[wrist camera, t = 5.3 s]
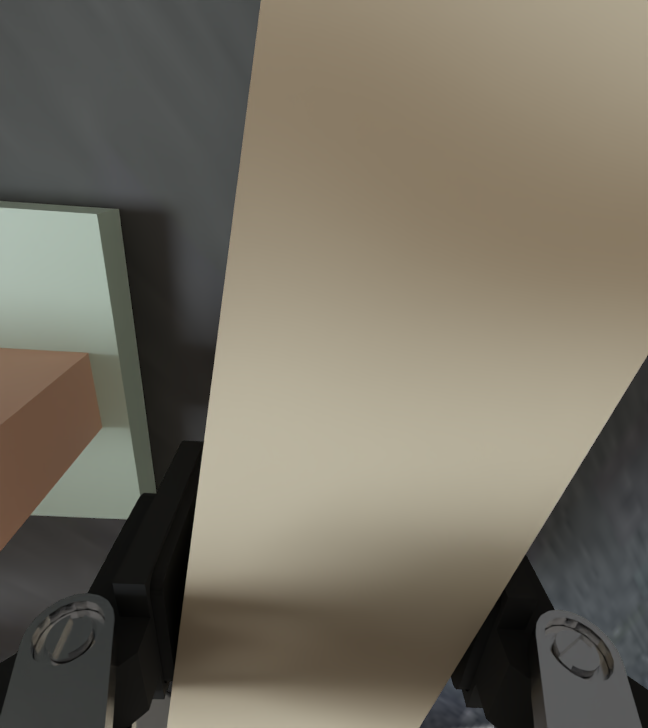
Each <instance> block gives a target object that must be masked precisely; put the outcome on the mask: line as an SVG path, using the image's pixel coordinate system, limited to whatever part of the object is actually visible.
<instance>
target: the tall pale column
mask: <svg viewBox="0 0 648 728" xmlns="http://www.w3.org/2000/svg"><path fill="white" fill-rule="evenodd" d="M170 700H171V694H170V693H169V692H166V696H165V699H153V700H152V703H151V706H150V709H149V711H148V712H146V713H145V714H144V715H143V716H142V717H140V718H139V719H138V720H137V721H136V728H167V723H168V715H169V708H170Z"/></svg>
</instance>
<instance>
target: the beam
mask: <svg viewBox="0 0 648 728" xmlns="http://www.w3.org/2000/svg"><path fill="white" fill-rule="evenodd" d="M647 355H648V0H261V5H260V13H259V20H258V28H257V36H256V43H255V51H254V59H253V67H252V74H251V82H250V90H249V98H248V105H247V113H246V121H245V128H244V136H243V144H242V152H241V159H240V167H239V175H238V183H237V190H236V198H235V206H234V213H233V221H232V229H231V237H230V244H229V252H228V260H227V267H226V275H225V283H224V291H223V298H222V306H221V314H220V322H219V329H218V337H217V345H216V352H215V360H214V368H213V376H212V383H211V391H210V399H209V407H208V414H207V422H206V430H205V437H204V445H203V453H202V461H201V468H200V476H199V484H198V491H197V499H196V507H195V515H194V522H193V530H192V538H191V546H190V553H189V561H188V569H187V576H186V584H185V592H184V600H183V607H182V615H181V623H180V631H179V638H178V646H177V654H176V661H175V669H174V677H173V685H172V692H171V700H170V708H169V715H168V723H167V728H419V727H420V725H421V724H422V722H423V721H424V719H425V717H426V716H427V714H428V712H429V711H430V709H431V708H432V706H433V704H434V703H435V701H436V699H437V698H438V696H439V694H440V693H441V691H442V690H443V688H444V686H445V685H446V683H447V681H448V680H449V678H450V677H451V675H452V673H453V672H454V670H455V668H456V667H457V665H458V663H459V662H460V660H461V659H462V657H463V655H464V654H465V652H466V650H467V649H468V647H469V646H470V644H471V642H472V641H473V639H474V637H475V636H476V634H477V633H478V631H479V629H480V628H481V626H482V624H483V623H484V621H485V619H486V618H487V616H488V615H489V613H490V611H491V610H492V608H493V606H494V605H495V603H496V602H497V600H498V598H499V597H500V595H501V593H502V592H503V590H504V588H505V587H506V585H507V584H508V582H509V580H510V579H511V577H512V575H513V574H514V572H515V571H516V569H517V567H518V566H519V564H520V562H521V561H522V559H523V558H524V556H525V554H526V553H527V551H528V549H529V548H530V546H531V544H532V543H533V541H534V540H535V538H536V536H537V535H538V533H539V531H540V530H541V528H542V527H543V525H544V523H545V522H546V520H547V518H548V517H549V515H550V513H551V512H552V510H553V509H554V507H555V505H556V504H557V502H558V500H559V499H560V497H561V496H562V494H563V492H564V491H565V489H566V487H567V486H568V484H569V483H570V481H571V479H572V478H573V476H574V474H575V473H576V471H577V469H578V468H579V466H580V465H581V463H582V461H583V460H584V458H585V456H586V455H587V453H588V452H589V450H590V448H591V447H592V445H593V443H594V442H595V440H596V439H597V437H598V435H599V434H600V432H601V430H602V429H603V427H604V425H605V424H606V422H607V421H608V419H609V417H610V416H611V414H612V412H613V411H614V409H615V408H616V406H617V404H618V403H619V401H620V399H621V398H622V396H623V394H624V393H625V391H626V390H627V388H628V386H629V385H630V383H631V381H632V380H633V378H634V377H635V375H636V373H637V372H638V370H639V368H640V367H641V365H642V364H643V362H644V360H645V359H646V357H647Z"/></svg>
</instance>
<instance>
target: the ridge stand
mask: <svg viewBox="0 0 648 728" xmlns="http://www.w3.org/2000/svg"><path fill="white" fill-rule="evenodd" d="M143 493H156V486H155V478H154V471H153V463H152V456H151V448H150V441H149V433H148V425H147V418H146V410H145V403H144V395H143V388H142V380H141V372H140V365H139V357H138V350H137V342H136V335H135V327H134V320H133V312H132V304H131V297H130V289H129V282H128V274H127V267H126V259H125V251H124V244H123V236H122V229H121V221H120V214H119V209H111V208H97V207H82V206H67V205H53V204H38V203H24V202H9V201H0V551H1V550H2V549H3V548H4V546H5V545H6V544H7V543H8V542H9V540H10V539H11V538H12V537H13V535H14V534H15V533H16V532H17V531H18V529H19V528H20V527H21V526H22V525H23V523H24V522H25V521H26V520H27V518H28V517H29V516H30V515H38V516H62V517H85V518H108V519H128V517H129V515H130V513H131V511H132V509H133V508H134V506H135V504H136V502H137V500H138V499H139V497H140V496H141V495H142V494H143Z"/></svg>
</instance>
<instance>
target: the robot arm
mask: <svg viewBox="0 0 648 728" xmlns="http://www.w3.org/2000/svg"><path fill="white" fill-rule="evenodd" d="M203 445H204V442H198V441H182V443H181V444H180V446H179V448H178V450H177V452H176V454H175V456H174V458H173V460H172V463H171V465H170V467H169V469H168V471H167V473H166V475H165V477H164V479H163V481H162V483H161V485H160V487H159V489H158V491H157V493H143V494H142V495H141V496H140V497H139V499H138V500H137V502H136V504H135V506H134V508H133V509H132V511H131V513H130V515H129V517H128V519H127V521H126V523H125V524H124V526H123V528H122V530H121V532H120V534H119V536H118V538H117V539H116V541H115V543H114V545H113V547H112V549H111V551H110V552H109V554H108V556H107V558H106V560H105V562H104V564H103V566H102V567H101V569H100V571H99V573H98V575H97V577H96V579H95V580H94V582H93V584H92V586H91V588H90V590H89V592H88V593H86V594H77V595H73V596H70V597H67V598H65V599H62V600H60V601H58V602H56V603H55V604H53V605H51V606H50V607H48V608H47V609H46V610H44V611H43V612H42V613H41V614H40V615H39V616H37V617H36V618H35V619H34V621H33V622H32V623H31V625H30V626H29V627H28V629H27V630H26V632H25V634H24V636H23V638H22V641H21V643H20V646H19V650H18V653H16V654H15V655H13V656H11V657H10V658H8V659H7V660H5V661H3V662H2V663H0V728H136V721H137V720H138V719H139V718H140V717H142V716H143V715H144V714H145V713H146V712H148V711H149V709H150V706H151V703H152V700H153V699H165V696H166V692H167V689H168V685H169V682H170V681H173V677H174V669H175V661H176V654H177V646H178V638H179V631H180V623H181V615H182V607H183V600H184V592H185V584H186V576H187V569H188V561H189V553H190V546H191V538H192V530H193V522H194V515H195V507H196V499H197V491H198V484H199V476H200V468H201V461H202V453H203ZM451 679H452V682H453V685H454V687H455V688H456V689H462V692H463V696H464V699H465V703H466V707H472V708H483V709H484V713H485V716H486V719H487V720H488V721H489V722H491V723H492V724H493V725H494V728H648V690H647V689H646V688H644V687H643V686H641V685H640V684H638V683H637V682H636V681H634V680H633V679H631V678H630V677H628V676H627V674H626V671H625V668H624V664H623V661H622V659H621V657H620V655H619V652H618V650H617V648H616V647H615V646H614V644H613V643H612V642H611V640H610V639H609V638H608V636H606V635H605V634H604V633H603V632H602V631H601V630H600V629H599V628H598V627H597V626H596V625H594V624H593V623H591V622H590V621H588V620H587V619H585V618H584V617H581V616H579V615H577V614H574V613H572V612H568V611H563V610H554V608H553V606H552V604H551V602H550V600H549V598H548V596H547V594H546V592H545V590H544V589H543V587H542V585H541V583H540V581H539V579H538V577H537V575H536V573H535V571H534V569H533V567H532V566H531V564H530V562H529V560H528V558H527V556H526V554H525V556H524V558H523V559H522V561H521V562H520V564H519V566H518V567H517V569H516V571H515V572H514V574H513V575H512V577H511V579H510V580H509V582H508V584H507V585H506V587H505V588H504V590H503V592H502V593H501V595H500V597H499V598H498V600H497V602H496V603H495V605H494V606H493V608H492V610H491V611H490V613H489V615H488V616H487V618H486V619H485V621H484V623H483V624H482V626H481V628H480V629H479V631H478V633H477V634H476V636H475V637H474V639H473V641H472V642H471V644H470V646H469V647H468V649H467V650H466V652H465V654H464V655H463V657H462V659H461V660H460V662H459V663H458V665H457V667H456V668H455V670H454V672H453V673H452V675H451Z"/></svg>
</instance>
